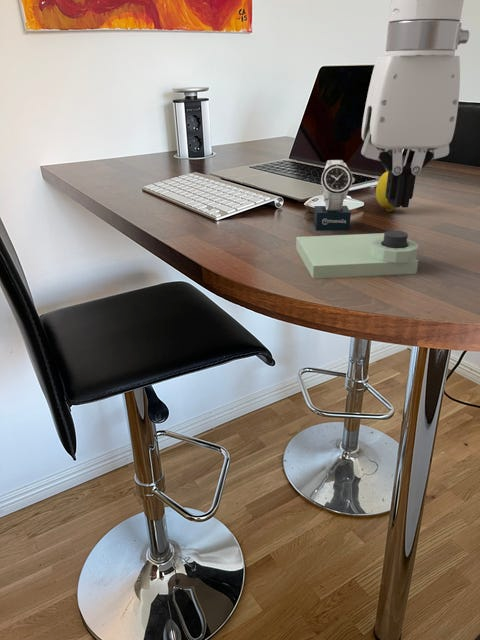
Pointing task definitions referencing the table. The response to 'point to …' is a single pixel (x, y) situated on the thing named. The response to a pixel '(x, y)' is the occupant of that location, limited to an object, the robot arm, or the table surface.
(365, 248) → the scale
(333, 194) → the watch
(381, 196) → the lemon
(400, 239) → the button
